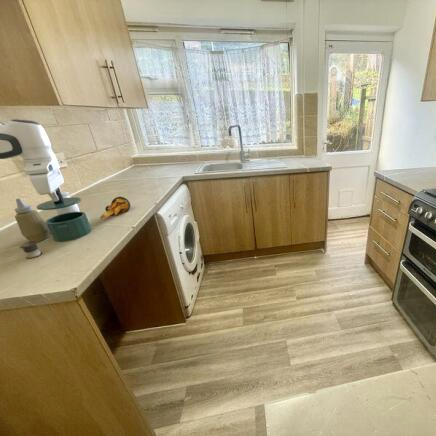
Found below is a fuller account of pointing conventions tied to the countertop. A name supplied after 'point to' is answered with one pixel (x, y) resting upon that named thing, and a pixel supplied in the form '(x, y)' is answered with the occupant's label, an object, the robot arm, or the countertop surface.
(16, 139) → the robot arm
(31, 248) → the thread spool
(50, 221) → the pot
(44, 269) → the countertop surface
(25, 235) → the squeeze bottle
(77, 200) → the pot lid
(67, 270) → the countertop surface
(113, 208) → the chicken drumstick
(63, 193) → the pill bottle
